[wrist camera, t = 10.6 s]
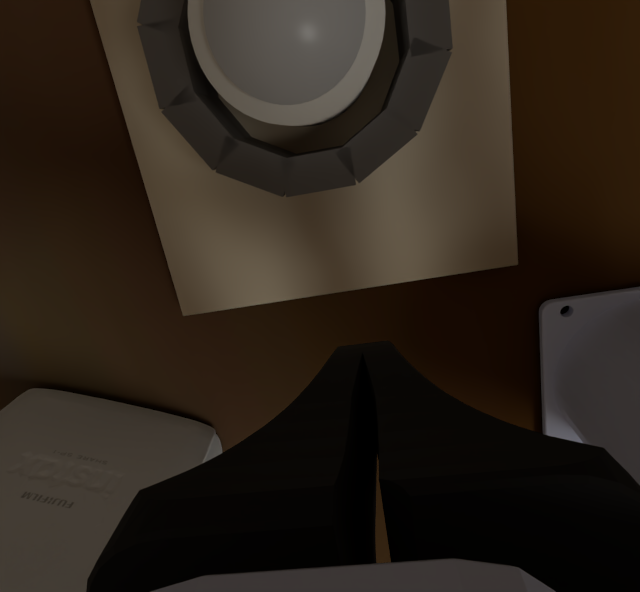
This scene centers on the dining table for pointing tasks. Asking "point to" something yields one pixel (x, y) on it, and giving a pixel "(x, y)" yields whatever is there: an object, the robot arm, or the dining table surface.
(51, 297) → the dining table surface
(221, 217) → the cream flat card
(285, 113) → the white round cylinder
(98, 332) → the dining table surface
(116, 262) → the dining table surface
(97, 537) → the photo printer
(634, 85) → the dining table surface
